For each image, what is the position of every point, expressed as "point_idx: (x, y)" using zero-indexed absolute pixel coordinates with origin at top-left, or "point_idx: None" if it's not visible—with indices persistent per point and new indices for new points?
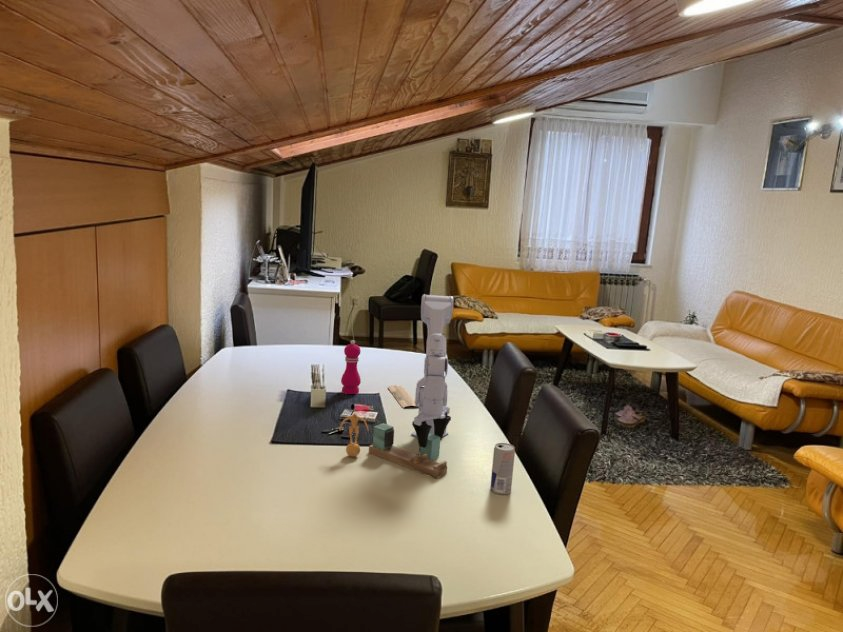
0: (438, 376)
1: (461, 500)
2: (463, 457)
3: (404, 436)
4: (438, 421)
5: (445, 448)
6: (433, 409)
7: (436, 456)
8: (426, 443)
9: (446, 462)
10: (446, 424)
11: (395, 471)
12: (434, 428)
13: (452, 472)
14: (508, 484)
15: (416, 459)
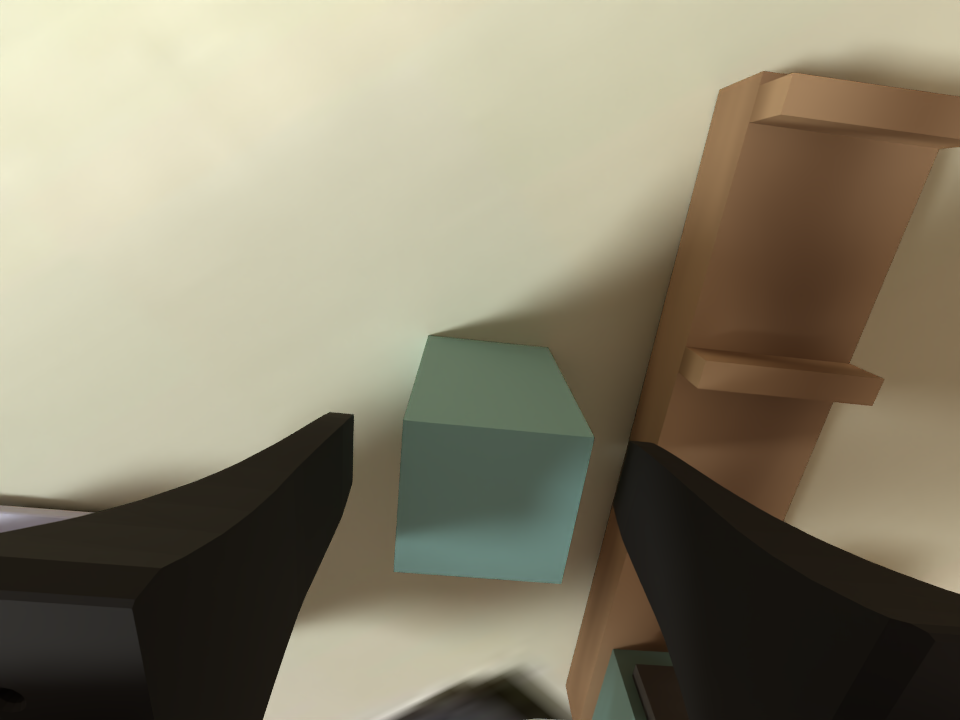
0: None
1: None
2: (277, 136)
3: (294, 678)
4: (245, 667)
5: (236, 376)
6: None
7: (468, 342)
8: (660, 457)
9: (787, 76)
10: (184, 508)
11: (875, 445)
12: (305, 589)
13: (677, 45)
14: None
15: (880, 379)
